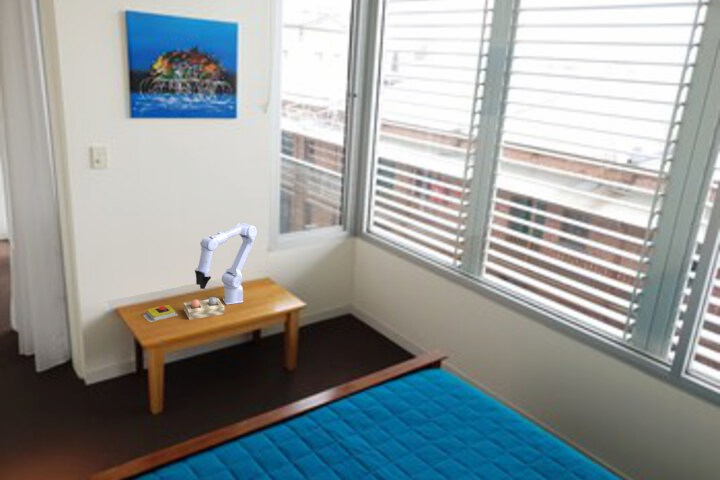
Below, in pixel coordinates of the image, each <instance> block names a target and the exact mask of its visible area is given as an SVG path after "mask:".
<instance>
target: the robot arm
mask: <svg viewBox="0 0 720 480" xmlns="http://www.w3.org/2000/svg"><path fill="white" fill-rule="evenodd" d="M237 235H239V236H240V238H241V239H242V243H241V245H240V248H239V249H238V252H237V253H236V256H235V258H234V261H233V262H232V265H231V267H229V268H228V269H226V271H225V272H224V273H223V274H222V276H221V283H223V286H224V297H223V298H222V300H223V302H224V304H225V305H234V304H240V303H241V304H242V303H244V290H243V286H242V279H243V274H242V269H243V267H244V265H245V263H246V262H247V261H246V260H247V258H248V256H249V254H250V252H251V250H252V247H253V245H254V243H255V239H256V236H257V235H258V230H257V228H256V226H255V225H251V224H248V223H245V222H244V221H243V222H239V223H237V224H236V225H235V226H233V227H231V228H230V229H228V230H227V231H225V232H224V231H218V232H217V233H216V234H214V235H210V236H209V237H208V236H206V237H203V238H202V239H201V241H200V245H199V246H200V257H199V260H198V261H199V262H198V266H197V267H195V270H194V273H195V282H196V283H195V284H196V285H199V289H200V290H205V289H206V287H207V284H208V283H209V281H210V280H211V278H212V276H210V269H211V264H212V259H213V253H214V251H215V250H216V249H217V248H218V246H220V245H222V244H224V243H225V242H227V240H228V239H230V238H233V237H235V236H237Z"/></svg>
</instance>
